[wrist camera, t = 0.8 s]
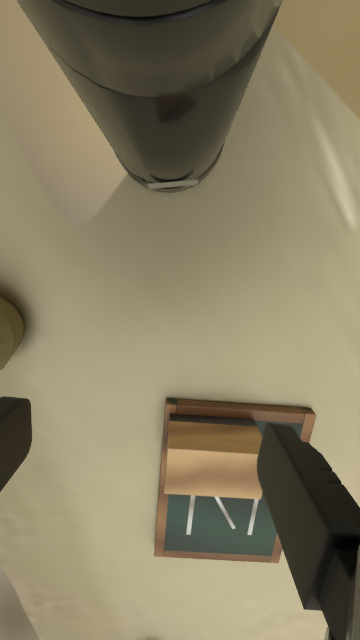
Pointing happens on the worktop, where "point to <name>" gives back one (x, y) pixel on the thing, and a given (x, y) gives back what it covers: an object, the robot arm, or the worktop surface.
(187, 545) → the chalkboard
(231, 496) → the eraser
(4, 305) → the squeeze bottle
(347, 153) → the worktop surface
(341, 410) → the worktop surface
